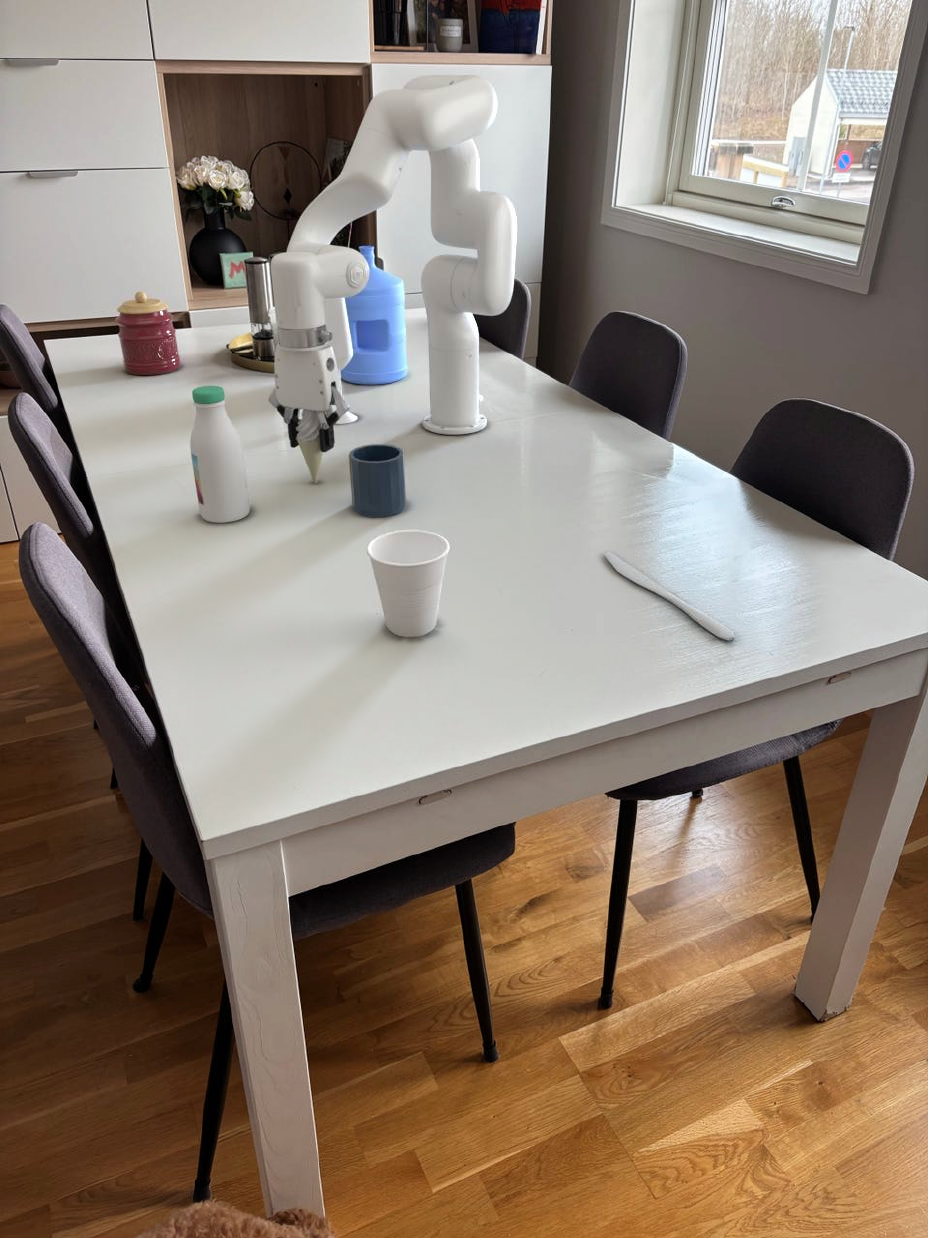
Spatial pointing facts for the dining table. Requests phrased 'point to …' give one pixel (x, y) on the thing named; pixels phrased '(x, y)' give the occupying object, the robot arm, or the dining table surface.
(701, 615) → the butter knife
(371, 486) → the tumbler
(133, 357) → the kitchen canister
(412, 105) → the robot arm
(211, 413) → the milk bottle
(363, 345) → the water jug
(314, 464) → the ice cream cone
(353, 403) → the dining table surface
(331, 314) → the champagne flute
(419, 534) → the cup
